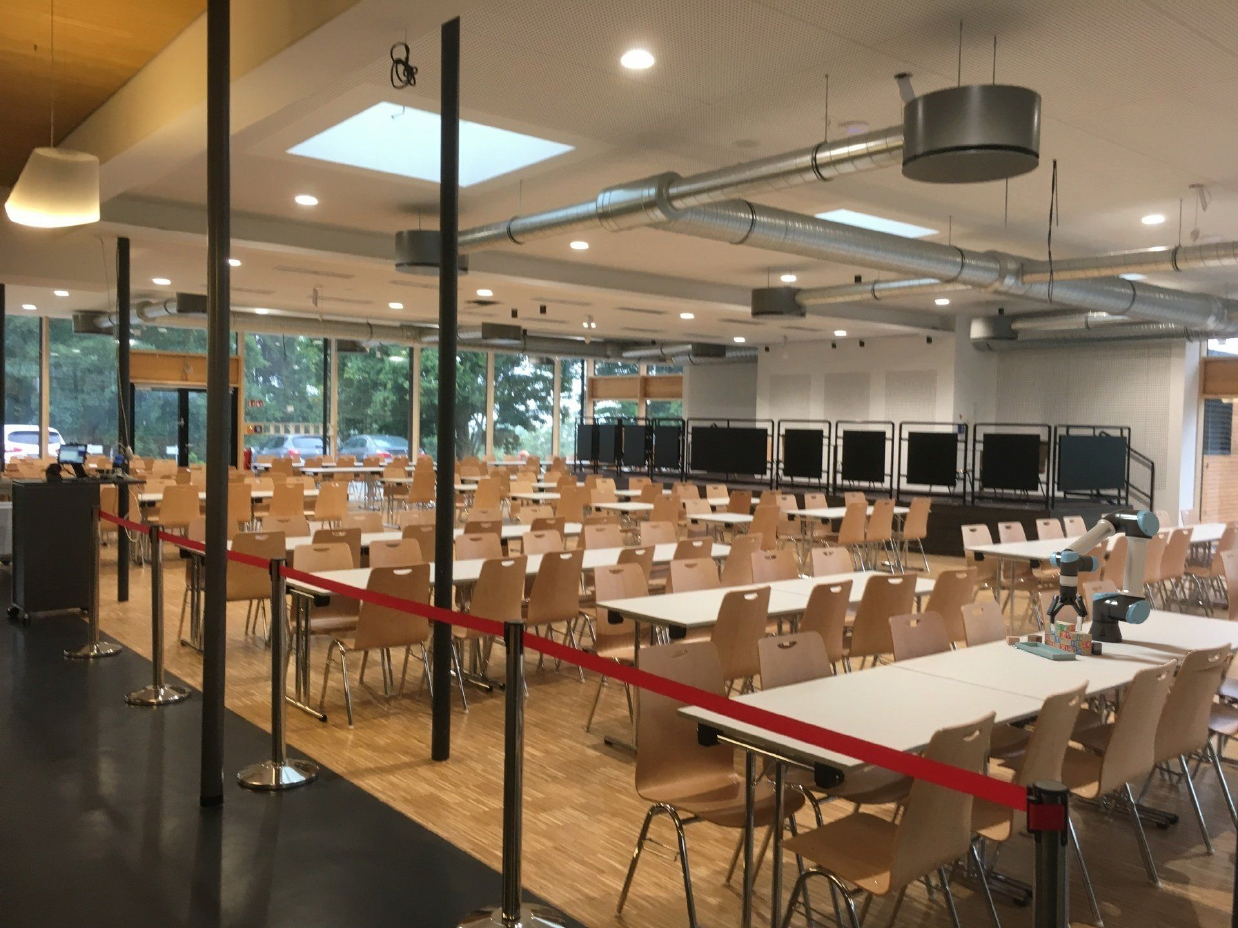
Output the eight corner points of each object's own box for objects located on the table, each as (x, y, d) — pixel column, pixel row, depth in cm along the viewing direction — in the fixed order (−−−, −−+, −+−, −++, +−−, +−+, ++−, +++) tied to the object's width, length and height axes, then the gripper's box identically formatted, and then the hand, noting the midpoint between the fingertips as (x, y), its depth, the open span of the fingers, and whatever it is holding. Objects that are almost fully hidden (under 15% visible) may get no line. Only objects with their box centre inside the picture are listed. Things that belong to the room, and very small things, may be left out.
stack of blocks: (1091, 654, 444) (1092, 627, 444) (1081, 655, 442) (1082, 628, 442) (1053, 645, 464) (1054, 619, 464) (1043, 646, 461) (1044, 620, 461)
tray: (1036, 647, 458) (1037, 641, 458) (1075, 659, 432) (1075, 653, 432) (1014, 647, 455) (1015, 642, 455) (1052, 660, 429) (1052, 654, 429)
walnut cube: (1033, 643, 466) (1034, 634, 466) (1041, 645, 462) (1042, 636, 462) (1027, 644, 464) (1027, 635, 464) (1035, 646, 460) (1035, 636, 460)
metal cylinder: (1097, 652, 448) (1097, 642, 448) (1104, 654, 444) (1104, 643, 443) (1088, 653, 447) (1089, 642, 447) (1095, 655, 443) (1095, 644, 442)
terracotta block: (1017, 644, 463) (1017, 636, 463) (1019, 646, 459) (1019, 637, 459) (1006, 644, 464) (1006, 635, 464) (1008, 645, 460) (1008, 637, 460)
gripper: (1086, 583, 459) (1084, 629, 459) (1039, 583, 453) (1037, 629, 454) (1097, 586, 452) (1095, 632, 452) (1050, 585, 446) (1048, 632, 446)
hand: (1066, 630), depth 453 cm, fingers open, 13 cm apart
